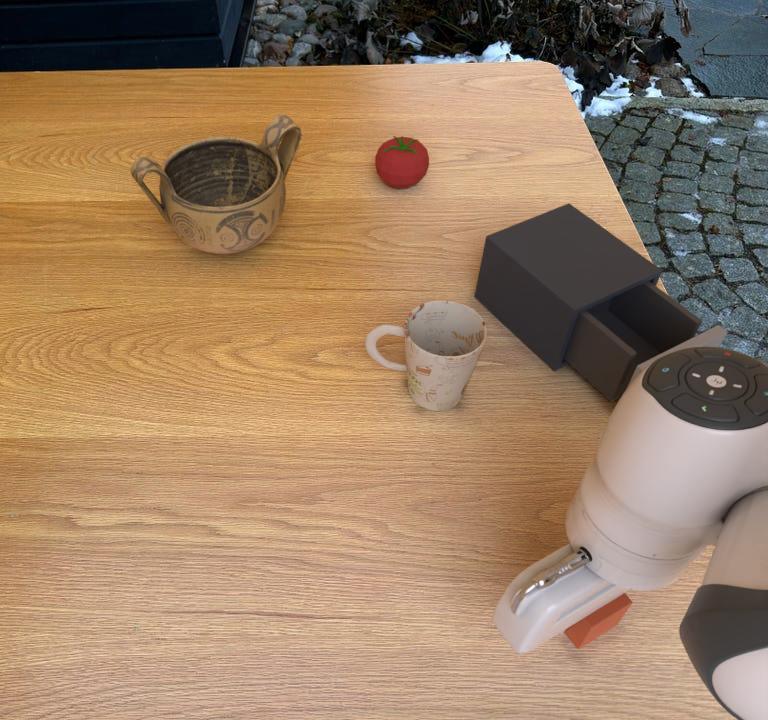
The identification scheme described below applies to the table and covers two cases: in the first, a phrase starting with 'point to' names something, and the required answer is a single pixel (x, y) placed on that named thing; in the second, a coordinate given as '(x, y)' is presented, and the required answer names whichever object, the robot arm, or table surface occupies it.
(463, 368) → the mug
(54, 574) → the table surface
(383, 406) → the table surface
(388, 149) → the tomato
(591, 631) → the block
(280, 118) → the ceramic bowl
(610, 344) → the drawer
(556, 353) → the cabinet
